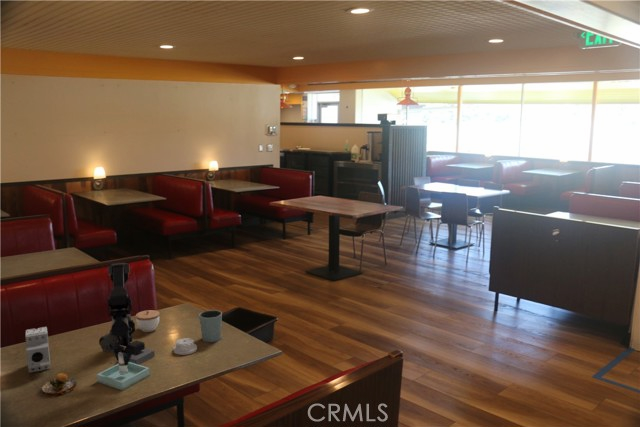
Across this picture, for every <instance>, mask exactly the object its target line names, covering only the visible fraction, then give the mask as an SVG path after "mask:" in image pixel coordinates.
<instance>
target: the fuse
mask: <svg viewBox="0 0 640 427" xmlns="http://www.w3.org/2000/svg"><path fill="white" fill-rule="evenodd" d="M118 358H119V363H118V364H119V374H121V375H124V374H127V373H128V368H127V365H126V366H125V364H124V358H123V354H122V353H121V352H119V353H118Z"/></svg>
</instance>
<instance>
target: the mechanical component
mask: <svg viewBox="0 0 640 427" xmlns="http://www.w3.org/2000/svg"><path fill="white" fill-rule="evenodd" d="M172 349H173V350H172V351H173V353H174V354H176V355H178V356H181V355H182V356H186V355H190V354H193V353H195V352H197V350H198V346H197V344H195V340H194V339H192V338H191V337H190V338H189V337H185V338H180V339H178V340H176V341H175V346H173V348H172Z"/></svg>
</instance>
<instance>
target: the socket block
mask: <svg viewBox="0 0 640 427" xmlns="http://www.w3.org/2000/svg"><path fill="white" fill-rule="evenodd" d="M155 356H156V355H155V350H154V349H149V348H146V347H145V349H143V350H141V351H139V352H137V353H135V354H132V356H131V358H130V360H129V362H131V363H135V364H138V365H141V364H142V363H145V362H147V361H148V360H151V359H152V358H155Z"/></svg>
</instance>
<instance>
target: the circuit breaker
mask: <svg viewBox="0 0 640 427" xmlns="http://www.w3.org/2000/svg"><path fill="white" fill-rule="evenodd" d="M48 334H49V333H48V327H47V326H42V327H38V328H30V329H29V328H28V329H26V330H25V344H26V346H25V347H26V348H25V349H26V350H25V352H26V359H27V369H28V373H30V372H31V373H35V372H36V373H37V372H41V371H46V369H47V370H51V360H50V359H51V358H50V348H49V337H48V336H49V335H48ZM39 368H40V369H39Z"/></svg>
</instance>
